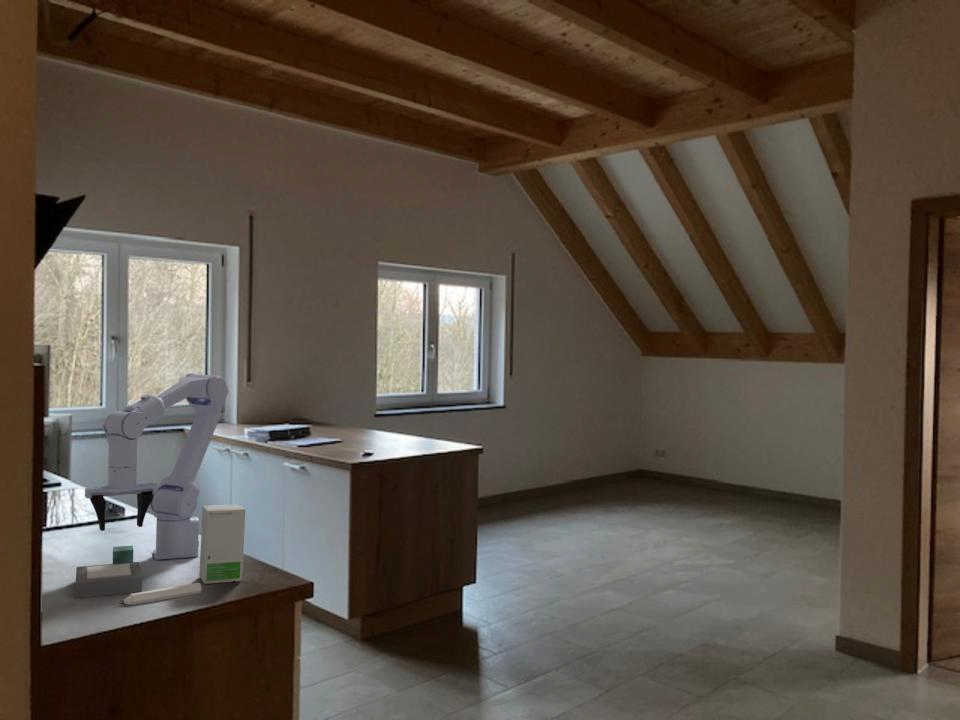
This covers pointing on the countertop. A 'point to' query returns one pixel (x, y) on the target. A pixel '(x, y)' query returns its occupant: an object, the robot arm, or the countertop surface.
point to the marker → (162, 594)
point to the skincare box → (222, 543)
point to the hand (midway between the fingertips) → (121, 527)
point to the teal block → (122, 554)
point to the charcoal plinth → (108, 579)
